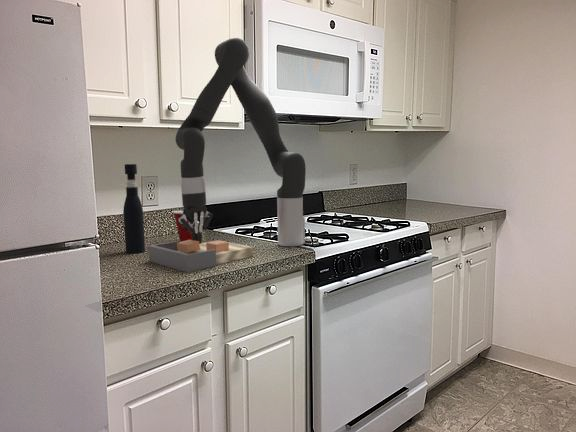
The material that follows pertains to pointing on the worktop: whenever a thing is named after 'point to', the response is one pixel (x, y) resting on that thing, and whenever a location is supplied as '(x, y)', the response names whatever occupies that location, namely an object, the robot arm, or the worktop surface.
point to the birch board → (228, 252)
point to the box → (181, 257)
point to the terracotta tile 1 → (188, 246)
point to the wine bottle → (133, 214)
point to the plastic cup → (181, 231)
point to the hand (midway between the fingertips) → (197, 243)
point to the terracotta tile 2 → (217, 245)
